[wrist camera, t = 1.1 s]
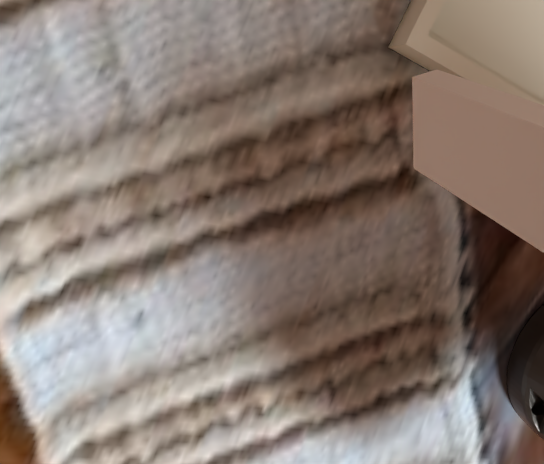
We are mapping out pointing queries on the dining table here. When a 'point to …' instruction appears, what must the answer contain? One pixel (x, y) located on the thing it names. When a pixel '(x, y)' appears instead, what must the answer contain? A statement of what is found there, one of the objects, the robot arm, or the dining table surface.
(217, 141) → the dining table surface
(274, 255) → the dining table surface
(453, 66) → the tray
